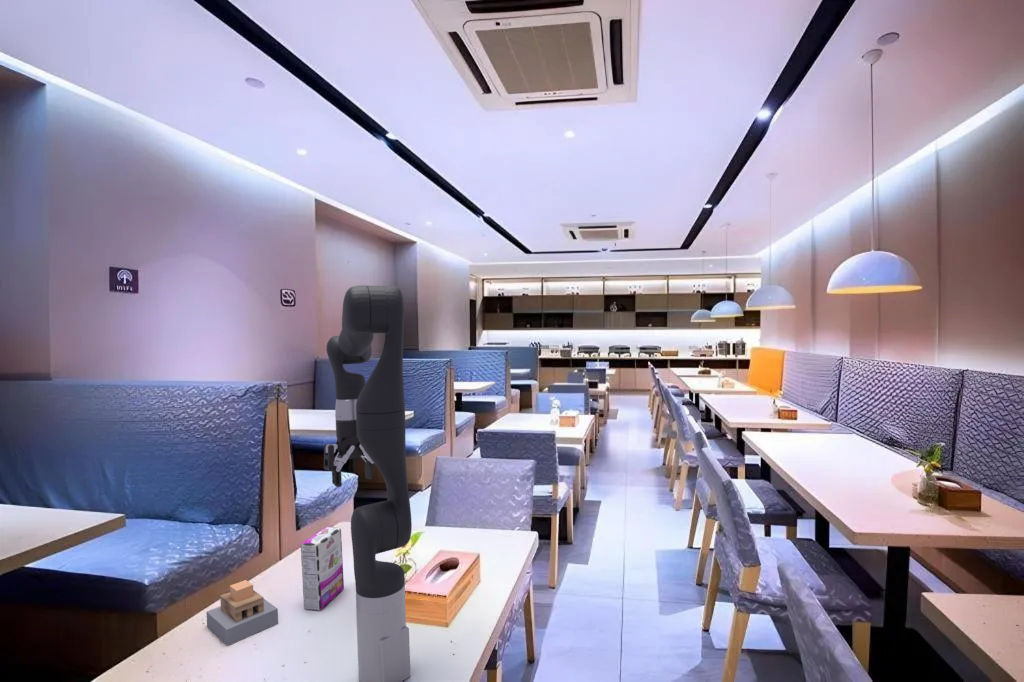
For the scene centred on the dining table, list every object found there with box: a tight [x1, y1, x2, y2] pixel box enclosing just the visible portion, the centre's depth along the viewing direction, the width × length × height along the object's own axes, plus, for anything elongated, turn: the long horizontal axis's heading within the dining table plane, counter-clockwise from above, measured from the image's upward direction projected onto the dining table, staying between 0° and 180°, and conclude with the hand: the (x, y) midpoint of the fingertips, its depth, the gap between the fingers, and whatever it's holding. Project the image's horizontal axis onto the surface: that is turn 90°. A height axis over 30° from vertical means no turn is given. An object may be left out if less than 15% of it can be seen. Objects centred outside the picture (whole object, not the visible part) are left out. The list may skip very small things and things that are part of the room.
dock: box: [206, 598, 279, 646], centre depth 120 cm, size 12×11×4 cm
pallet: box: [220, 589, 265, 622], centre depth 120 cm, size 9×6×3 cm, turn 49°
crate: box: [229, 579, 254, 602], centre depth 120 cm, size 4×4×3 cm
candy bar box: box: [300, 526, 345, 611], centre depth 131 cm, size 11×5×16 cm, turn 168°
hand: (353, 482), depth 128 cm, fingers open, 8 cm apart
